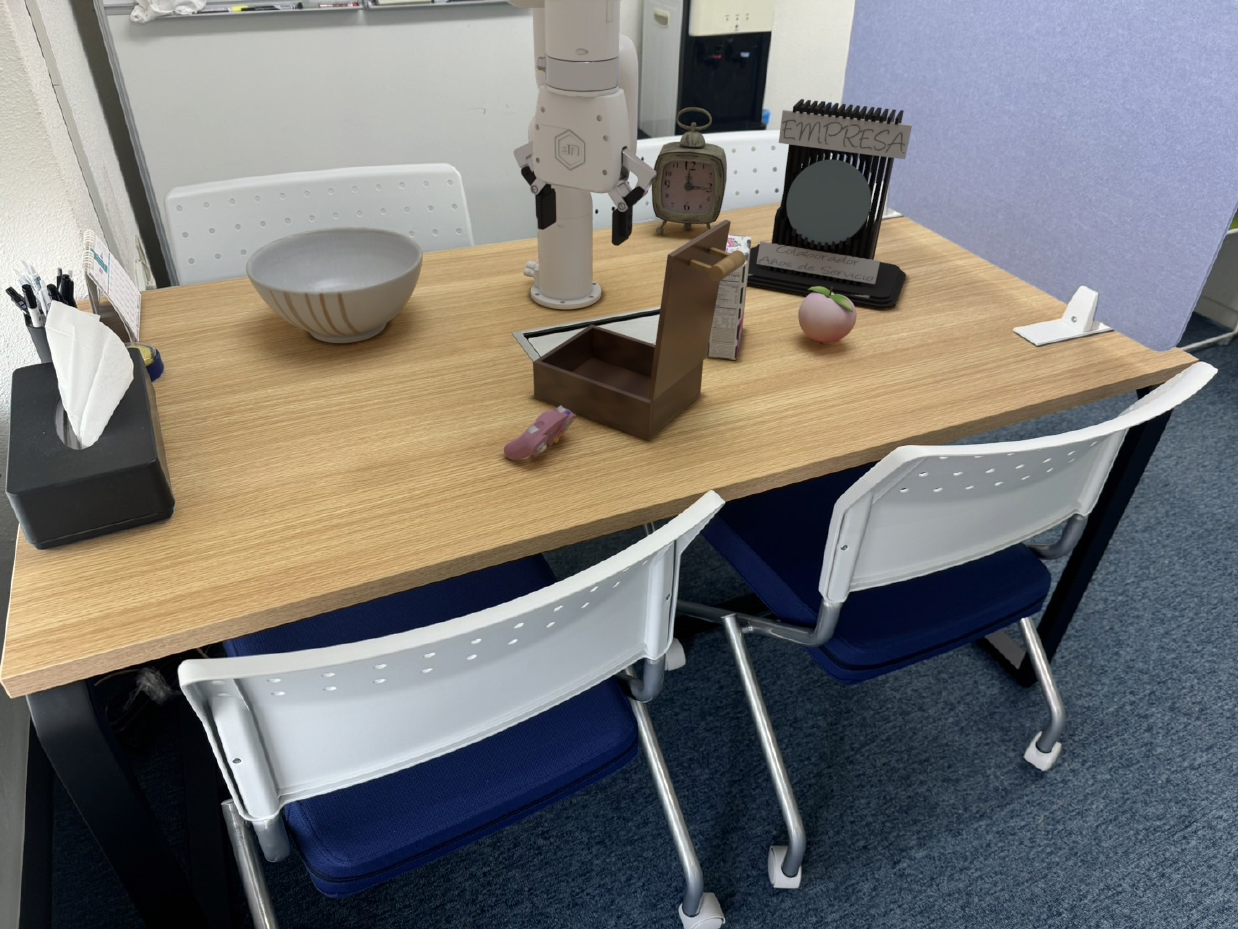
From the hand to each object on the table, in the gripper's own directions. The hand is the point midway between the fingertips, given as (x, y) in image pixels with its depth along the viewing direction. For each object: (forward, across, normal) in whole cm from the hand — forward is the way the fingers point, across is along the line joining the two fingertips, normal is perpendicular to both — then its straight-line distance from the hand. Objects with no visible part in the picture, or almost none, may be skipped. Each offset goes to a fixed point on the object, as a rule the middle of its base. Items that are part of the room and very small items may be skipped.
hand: (583, 233), depth 99 cm
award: (+30, +12, +70) cm, 77 cm away
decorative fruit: (+30, +20, +44) cm, 56 cm away
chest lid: (+13, +9, +12) cm, 19 cm away
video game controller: (+29, -4, -4) cm, 30 cm away
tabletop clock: (+30, -20, +79) cm, 87 cm away
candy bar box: (+30, +6, +36) cm, 47 cm away
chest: (+29, -2, +13) cm, 32 cm away
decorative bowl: (+30, -51, +11) cm, 60 cm away
